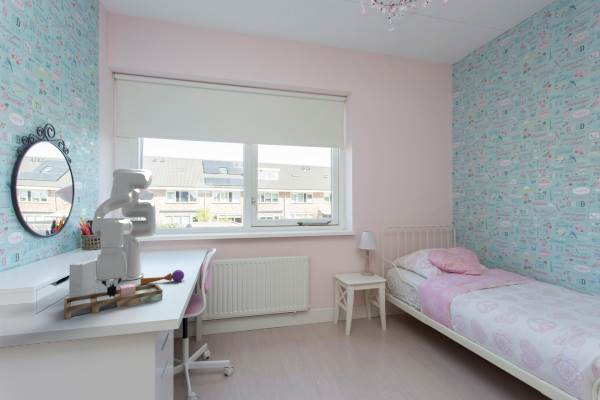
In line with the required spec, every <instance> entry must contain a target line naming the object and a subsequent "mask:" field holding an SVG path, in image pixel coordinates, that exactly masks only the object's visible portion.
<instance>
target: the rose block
mask: <svg viewBox="0 0 600 400" xmlns="http://www.w3.org/2000/svg"><path fill="white" fill-rule="evenodd" d="M136 287H137V286H136V285H135V284H134V283H129V284H121V285H119V289H120V291H119V295H120V297H123V296H128V295H134V294H135V288H136Z"/></svg>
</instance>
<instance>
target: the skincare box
mask: <svg viewBox="0 0 600 400" xmlns="http://www.w3.org/2000/svg"><path fill="white" fill-rule="evenodd" d="M96 266H97V260H90V259H89V260H87V259H83V260H80V261H78V262H74V263H70V264H69V273H68V274H69V277H68V279H69V280H68V283H69V285H68V286H69V288H68V289H69V290H68V298H71V297H77V296H83V295H89V294H95V293H97V292H96V286H97V285H96V284H97V283H95V281H96V278H97V277H96Z"/></svg>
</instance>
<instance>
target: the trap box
mask: <svg viewBox="0 0 600 400" xmlns="http://www.w3.org/2000/svg"><path fill="white" fill-rule="evenodd" d="M119 291H120V288H119V289H116V294H114V297H113V298H107V299H103V300H101V299H100V300H98V298H101V297H109V295H107V291H102V292H95V293H92V294H89V295H83V296H77V297H71V298H69V297H66V298H64V299H63V300H64V301H63V320H66V319H67V320H68V319H71V318H73V317H79V316H83V315H88V314H96V313H100V312H103V311H108V310H112V309H120V308H127V307H131V306H135V305H141V304H147V303H150V302H156V301H161V300H163V289H162V288H161V286H159V284H157V283H155V282H154V283H148V284H143V285H139V286H136V288H135V294H134V295H128V296H123V297H120V295H119ZM83 300H89V301H90V302H86V303H80V304H74V305H72V302H78V301H83Z"/></svg>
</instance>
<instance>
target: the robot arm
mask: <svg viewBox="0 0 600 400" xmlns="http://www.w3.org/2000/svg"><path fill="white" fill-rule="evenodd" d="M112 178H113V181H112V185H111V192H110V197H109V198H108V199H106V200H105V201H104V202H102V203H101V204H100V205H98V207H96V209H95V212H94V214H93V218H92V223H91V232H92V234H93V235H95V236H96V237H100V254H98V255H97V259H96V281H95V283H96V284H98V285H103V286H105V287H106V292H107V295H108V298H111V297H113V298H114V294H116V290H117V287H118V285H119V284H120V282H122V281H123V282H124V281H134V280H138V279H141V278H144V275H145V274H144V273H143V272H141V271H142V269H141V265H142V264H141V262H142V260H141V259H142V244H141V242H140V241H139V240H138V239H137V238H147V237H153V236H154V235H155V233H156V228H157V227H156V226H157V225H156V223H157V222H156V205H155V202H154V201H153V200H147V199H146V200H145V199H140V198H141V197H140V196H141V194H140V193H141V191H140V190H147V189H149V187H150V185H151V184H152V180H153V175H152V172H151V171H150V170H149V169H137V168H117V169H115V170H113V171H112ZM118 209H121V213H122V216H123V217H124V218H123V217H122V218H116V217H114V218H112V217H109V218H106V217H105V216H106V215H107V214H109V213H110V212H113V211H115V210H118ZM129 218H133V219H129ZM134 218H143V219H134ZM144 218H145V219H144ZM110 280H113V282H112V284H111V282H110Z"/></svg>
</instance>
